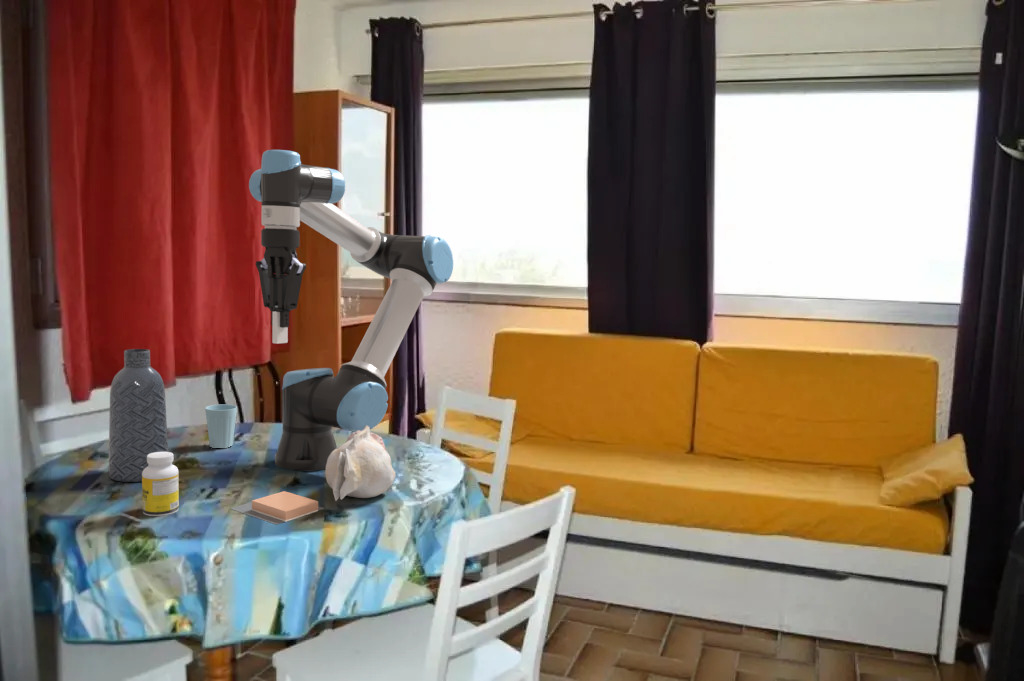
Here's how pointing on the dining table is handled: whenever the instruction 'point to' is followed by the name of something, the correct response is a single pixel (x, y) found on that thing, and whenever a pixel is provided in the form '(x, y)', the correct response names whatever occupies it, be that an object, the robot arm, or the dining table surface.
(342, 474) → the white garlic bulb
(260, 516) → the mat
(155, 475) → the pill bottle
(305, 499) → the tile
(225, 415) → the cup
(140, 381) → the vase
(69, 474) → the dining table surface
